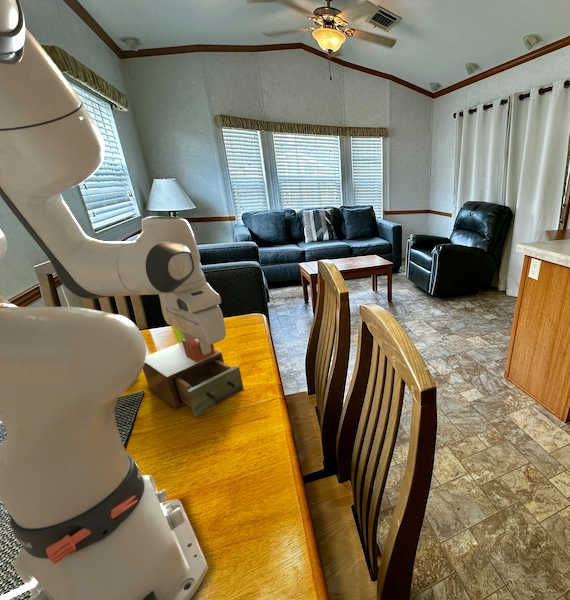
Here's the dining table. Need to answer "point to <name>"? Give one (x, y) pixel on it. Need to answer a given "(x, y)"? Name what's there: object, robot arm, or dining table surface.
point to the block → (195, 349)
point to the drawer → (208, 385)
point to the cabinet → (170, 370)
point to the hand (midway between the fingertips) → (199, 349)
